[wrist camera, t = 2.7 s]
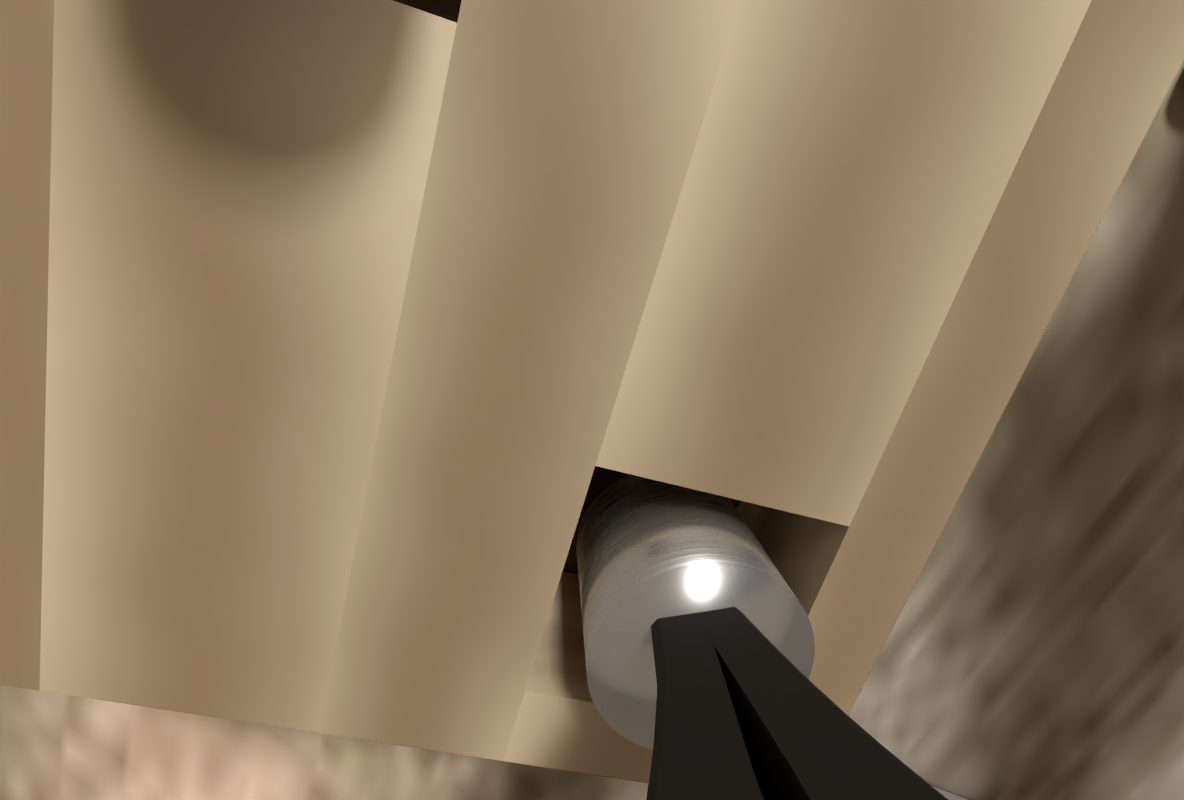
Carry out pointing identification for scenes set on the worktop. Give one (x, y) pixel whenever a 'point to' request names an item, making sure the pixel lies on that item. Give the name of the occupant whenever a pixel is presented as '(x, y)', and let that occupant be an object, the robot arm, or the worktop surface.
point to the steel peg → (669, 588)
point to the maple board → (510, 325)
